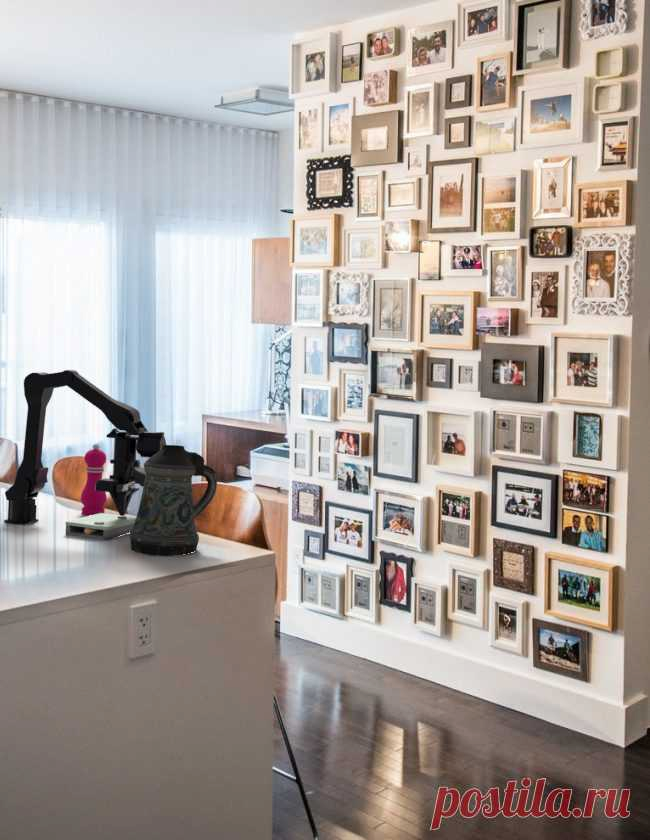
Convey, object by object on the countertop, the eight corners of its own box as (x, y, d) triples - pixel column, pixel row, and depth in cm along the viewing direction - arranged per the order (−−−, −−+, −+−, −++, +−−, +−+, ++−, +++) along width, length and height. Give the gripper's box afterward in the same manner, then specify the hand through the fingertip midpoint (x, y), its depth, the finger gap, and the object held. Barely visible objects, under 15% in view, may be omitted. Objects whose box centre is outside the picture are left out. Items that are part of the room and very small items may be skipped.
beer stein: (114, 547, 242) (119, 443, 240) (176, 539, 257) (180, 440, 255) (160, 559, 232) (165, 450, 230) (221, 550, 246) (226, 447, 245)
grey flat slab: (65, 534, 254) (65, 524, 254) (100, 525, 269) (100, 516, 269) (107, 540, 250) (107, 530, 250) (139, 530, 265) (140, 521, 265)
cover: (65, 524, 253) (65, 520, 253) (100, 515, 269) (101, 511, 269) (107, 530, 250) (107, 525, 249) (140, 521, 265) (140, 516, 265)
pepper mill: (109, 513, 289) (112, 443, 288) (101, 517, 282) (104, 445, 280) (84, 511, 290) (87, 441, 288) (76, 515, 282) (79, 444, 281)
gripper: (134, 461, 251) (131, 524, 252) (169, 455, 269) (167, 514, 270) (95, 457, 255) (92, 519, 256) (132, 452, 272) (130, 509, 273)
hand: (122, 515), depth 264 cm, fingers closed
